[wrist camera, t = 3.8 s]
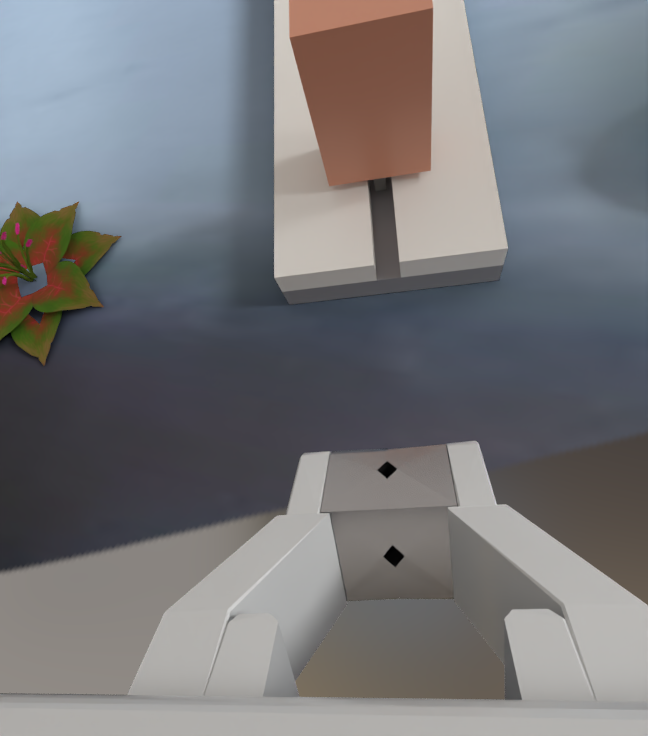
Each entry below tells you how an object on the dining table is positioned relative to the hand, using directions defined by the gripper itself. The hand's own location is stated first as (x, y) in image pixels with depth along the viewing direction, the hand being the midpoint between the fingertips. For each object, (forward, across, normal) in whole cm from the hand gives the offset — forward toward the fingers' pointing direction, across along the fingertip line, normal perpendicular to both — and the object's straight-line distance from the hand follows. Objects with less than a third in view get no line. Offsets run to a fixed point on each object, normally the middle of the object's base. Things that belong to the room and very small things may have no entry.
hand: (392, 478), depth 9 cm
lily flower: (+22, +22, 0) cm, 31 cm away
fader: (+22, 0, -3) cm, 22 cm away
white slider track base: (+30, 0, -9) cm, 31 cm away
